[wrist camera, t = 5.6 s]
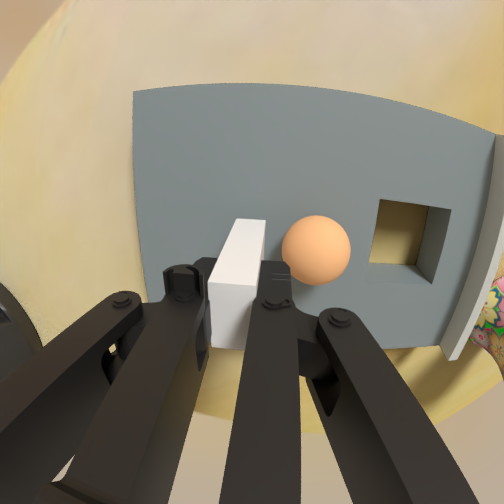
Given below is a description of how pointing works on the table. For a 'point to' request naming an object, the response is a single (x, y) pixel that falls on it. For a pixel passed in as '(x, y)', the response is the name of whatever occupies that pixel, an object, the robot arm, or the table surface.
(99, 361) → the robot arm
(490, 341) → the mug
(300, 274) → the ball
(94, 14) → the table surface
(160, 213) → the board
